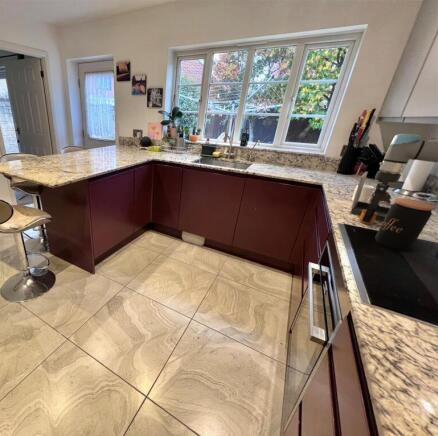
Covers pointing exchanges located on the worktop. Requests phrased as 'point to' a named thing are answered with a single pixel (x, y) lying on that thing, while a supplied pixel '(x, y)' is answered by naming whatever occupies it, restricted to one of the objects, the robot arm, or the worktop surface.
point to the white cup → (363, 193)
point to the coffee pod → (371, 218)
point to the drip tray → (362, 205)
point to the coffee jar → (403, 223)
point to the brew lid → (359, 189)
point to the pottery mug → (383, 198)
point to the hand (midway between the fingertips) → (366, 219)
